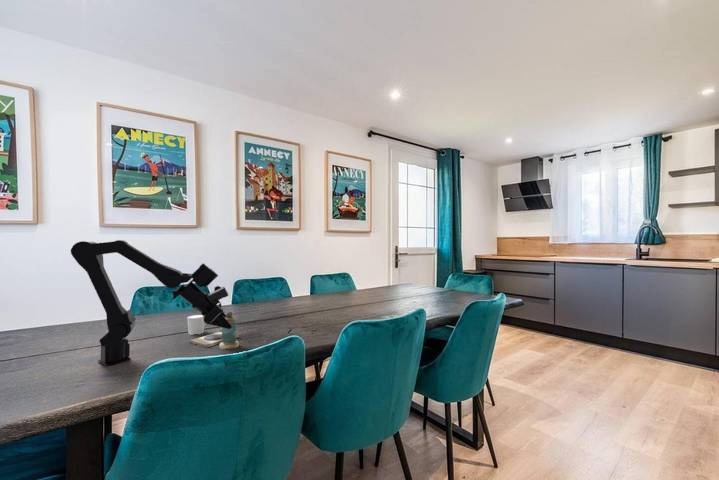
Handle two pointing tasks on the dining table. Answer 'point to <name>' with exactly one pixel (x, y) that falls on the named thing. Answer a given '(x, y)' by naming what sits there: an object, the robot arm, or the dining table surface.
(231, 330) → the bobbin
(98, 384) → the dining table surface
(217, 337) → the notched board
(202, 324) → the white rounded piece
